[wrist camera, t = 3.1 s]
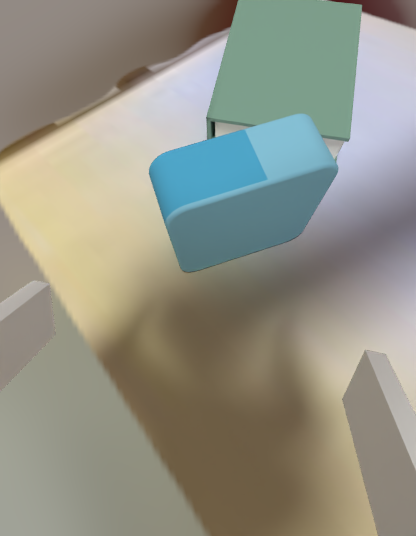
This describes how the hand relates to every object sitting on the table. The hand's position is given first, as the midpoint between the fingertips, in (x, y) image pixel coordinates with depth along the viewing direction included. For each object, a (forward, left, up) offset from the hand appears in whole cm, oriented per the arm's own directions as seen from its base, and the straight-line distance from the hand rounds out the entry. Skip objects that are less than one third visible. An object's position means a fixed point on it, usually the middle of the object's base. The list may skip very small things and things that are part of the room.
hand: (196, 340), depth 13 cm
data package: (0, -12, -15) cm, 19 cm away
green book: (-2, -32, -15) cm, 35 cm away
